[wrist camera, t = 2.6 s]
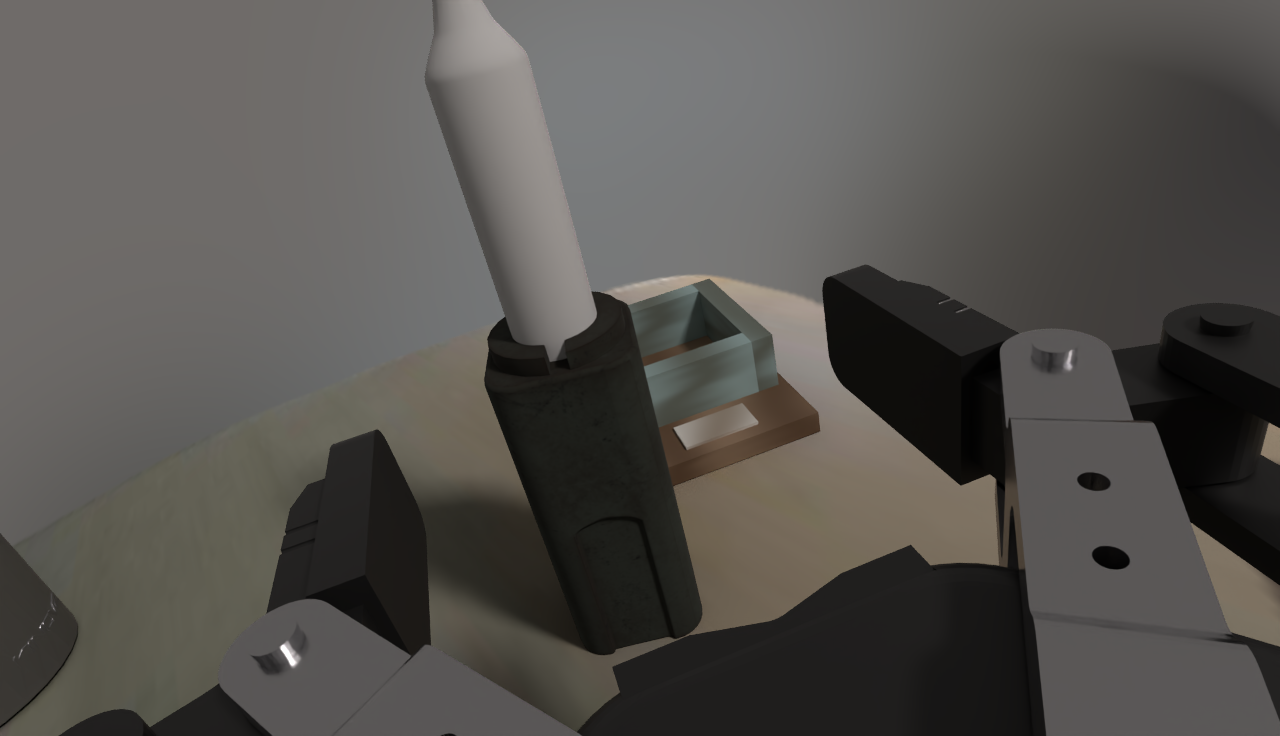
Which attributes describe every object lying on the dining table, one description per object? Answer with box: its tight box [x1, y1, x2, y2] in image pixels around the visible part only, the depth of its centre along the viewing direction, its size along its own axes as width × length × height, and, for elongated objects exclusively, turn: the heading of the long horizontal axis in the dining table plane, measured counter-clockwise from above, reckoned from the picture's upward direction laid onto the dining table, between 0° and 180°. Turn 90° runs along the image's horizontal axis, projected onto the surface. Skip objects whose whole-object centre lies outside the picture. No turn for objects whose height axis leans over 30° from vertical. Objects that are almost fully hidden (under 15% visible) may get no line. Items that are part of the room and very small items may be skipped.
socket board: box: [628, 279, 820, 486], centre depth 43 cm, size 13×18×4 cm
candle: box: [425, 0, 702, 655], centre depth 24 cm, size 5×5×25 cm
